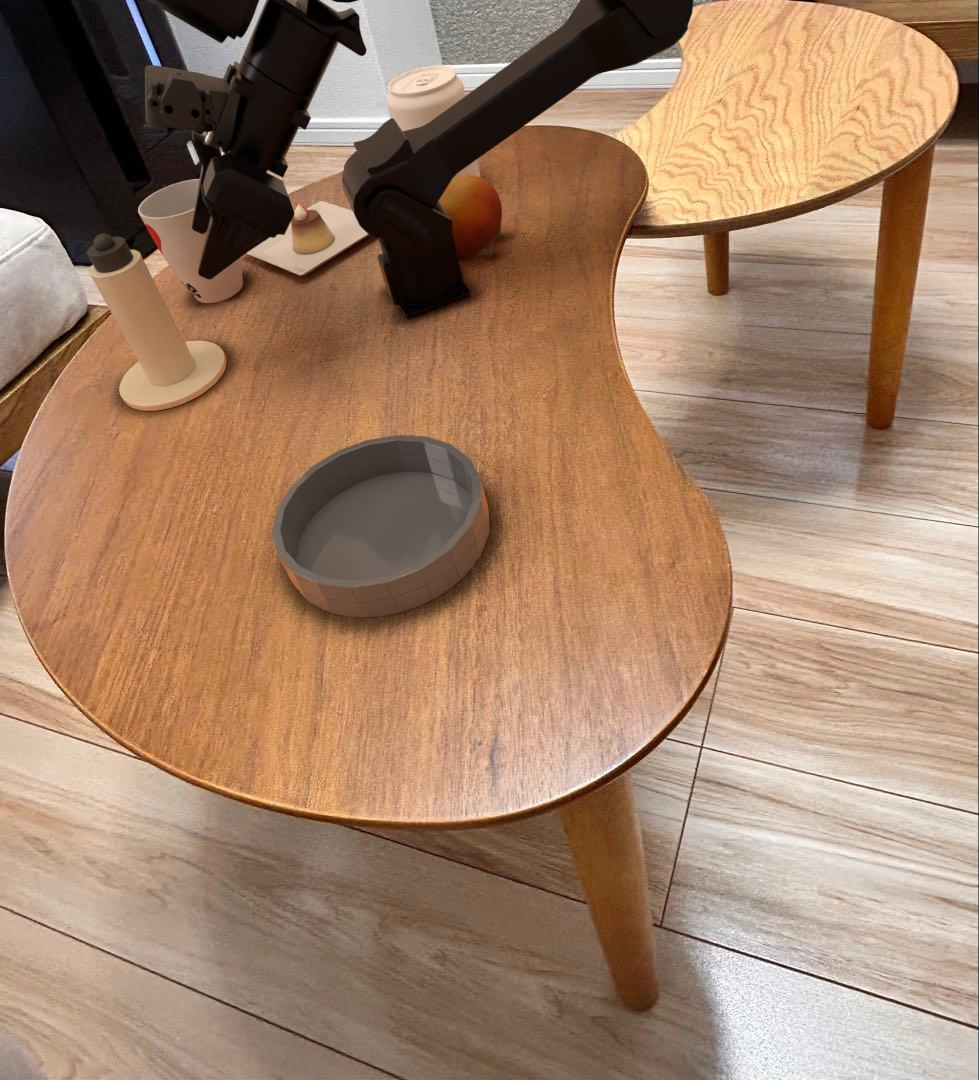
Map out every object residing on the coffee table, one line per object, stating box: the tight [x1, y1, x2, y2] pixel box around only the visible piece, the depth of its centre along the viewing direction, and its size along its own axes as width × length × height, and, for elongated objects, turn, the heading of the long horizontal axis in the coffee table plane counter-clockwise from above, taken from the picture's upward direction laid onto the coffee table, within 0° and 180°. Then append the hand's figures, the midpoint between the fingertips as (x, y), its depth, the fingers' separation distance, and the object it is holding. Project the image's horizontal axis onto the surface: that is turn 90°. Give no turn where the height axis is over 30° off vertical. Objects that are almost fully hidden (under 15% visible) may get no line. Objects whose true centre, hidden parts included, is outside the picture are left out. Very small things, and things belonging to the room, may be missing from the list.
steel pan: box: [271, 434, 490, 619], centre depth 59 cm, size 14×14×4 cm
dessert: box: [245, 200, 371, 276], centre depth 92 cm, size 12×12×5 cm
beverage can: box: [386, 65, 482, 179], centre depth 93 cm, size 8×8×12 cm
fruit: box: [439, 175, 507, 262], centre depth 85 cm, size 8×8×8 cm
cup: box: [137, 178, 244, 304], centre depth 87 cm, size 8×8×10 cm
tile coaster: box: [118, 340, 228, 412], centre depth 80 cm, size 10×10×1 cm
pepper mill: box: [86, 233, 195, 386], centre depth 75 cm, size 4×4×14 cm
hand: (200, 253), depth 73 cm, fingers open, 9 cm apart
